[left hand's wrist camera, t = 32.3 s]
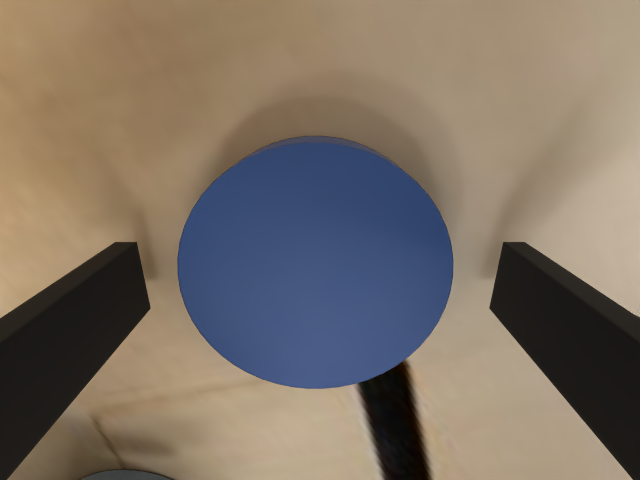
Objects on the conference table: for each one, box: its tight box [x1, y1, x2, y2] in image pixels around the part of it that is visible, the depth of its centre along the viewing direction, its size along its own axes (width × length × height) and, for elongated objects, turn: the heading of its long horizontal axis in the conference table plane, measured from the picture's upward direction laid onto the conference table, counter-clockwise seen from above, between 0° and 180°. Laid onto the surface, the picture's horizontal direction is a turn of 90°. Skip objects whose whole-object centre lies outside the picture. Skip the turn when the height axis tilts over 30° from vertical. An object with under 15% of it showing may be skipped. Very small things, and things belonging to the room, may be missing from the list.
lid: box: [178, 136, 453, 389], centre depth 12 cm, size 9×9×2 cm
